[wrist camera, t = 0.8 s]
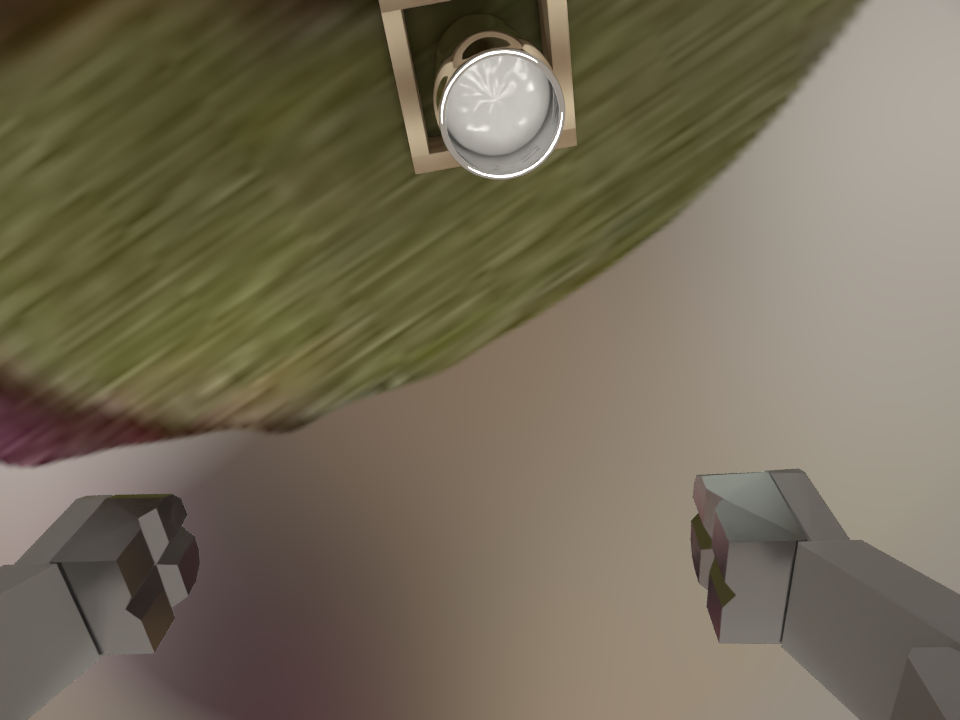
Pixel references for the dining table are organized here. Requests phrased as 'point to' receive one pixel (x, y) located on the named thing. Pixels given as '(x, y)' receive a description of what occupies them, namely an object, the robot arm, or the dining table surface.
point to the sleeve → (423, 149)
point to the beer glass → (495, 99)
